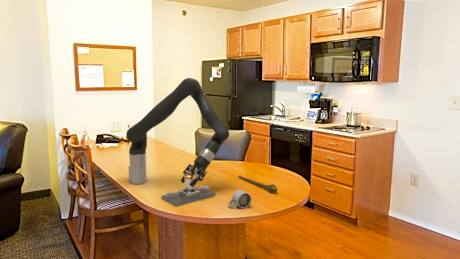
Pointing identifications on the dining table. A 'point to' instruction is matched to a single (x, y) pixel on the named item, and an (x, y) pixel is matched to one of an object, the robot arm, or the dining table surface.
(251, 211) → the dining table surface
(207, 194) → the coupling base
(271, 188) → the torque wrench
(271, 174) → the dining table surface
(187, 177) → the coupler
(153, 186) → the dining table surface
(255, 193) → the dining table surface
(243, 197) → the ceramic mug
